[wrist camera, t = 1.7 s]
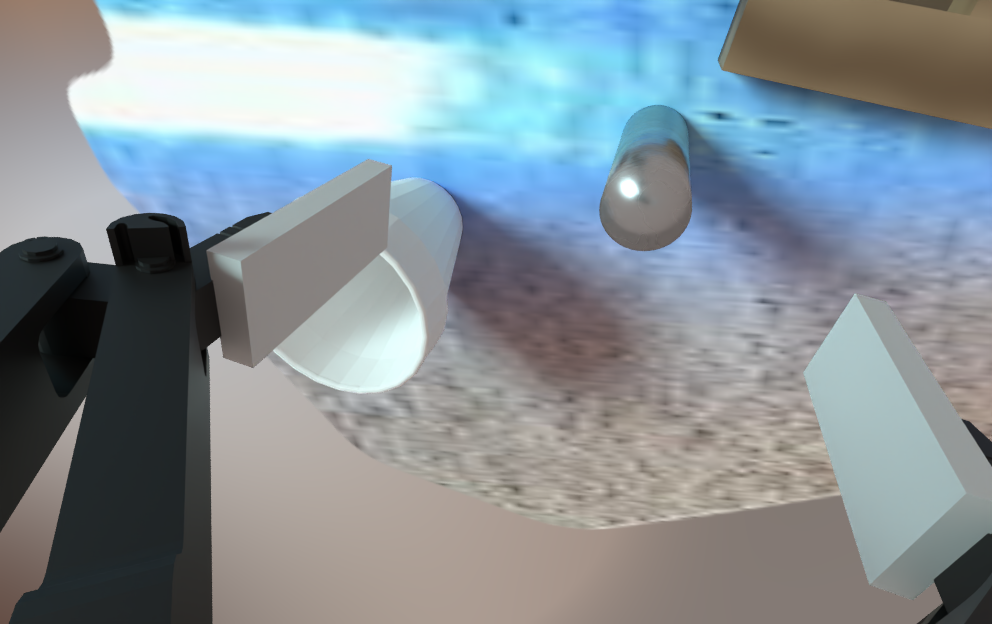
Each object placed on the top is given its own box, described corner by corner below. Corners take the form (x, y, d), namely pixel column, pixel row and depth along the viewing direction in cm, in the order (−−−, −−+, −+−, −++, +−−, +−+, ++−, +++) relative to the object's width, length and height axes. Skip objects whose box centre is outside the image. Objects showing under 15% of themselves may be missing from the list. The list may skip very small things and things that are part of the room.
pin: (632, 98, 33) (613, 156, 23) (698, 113, 32) (706, 179, 22) (614, 161, 35) (589, 238, 25) (675, 176, 34) (673, 260, 25)
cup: (327, 225, 44) (211, 312, 33) (391, 103, 37) (271, 163, 26) (445, 314, 46) (371, 425, 35) (529, 213, 39) (470, 314, 28)
